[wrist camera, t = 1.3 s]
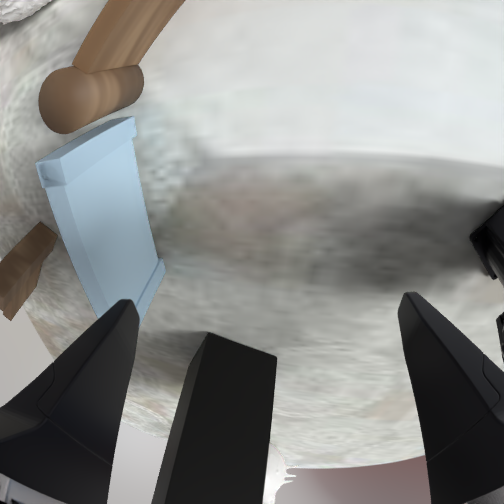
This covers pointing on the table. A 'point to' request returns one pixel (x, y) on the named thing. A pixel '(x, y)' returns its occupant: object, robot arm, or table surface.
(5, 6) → the sitting furry creature
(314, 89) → the table surface
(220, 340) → the black pillar candle
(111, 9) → the pen fence
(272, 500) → the cat head
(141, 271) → the gate
